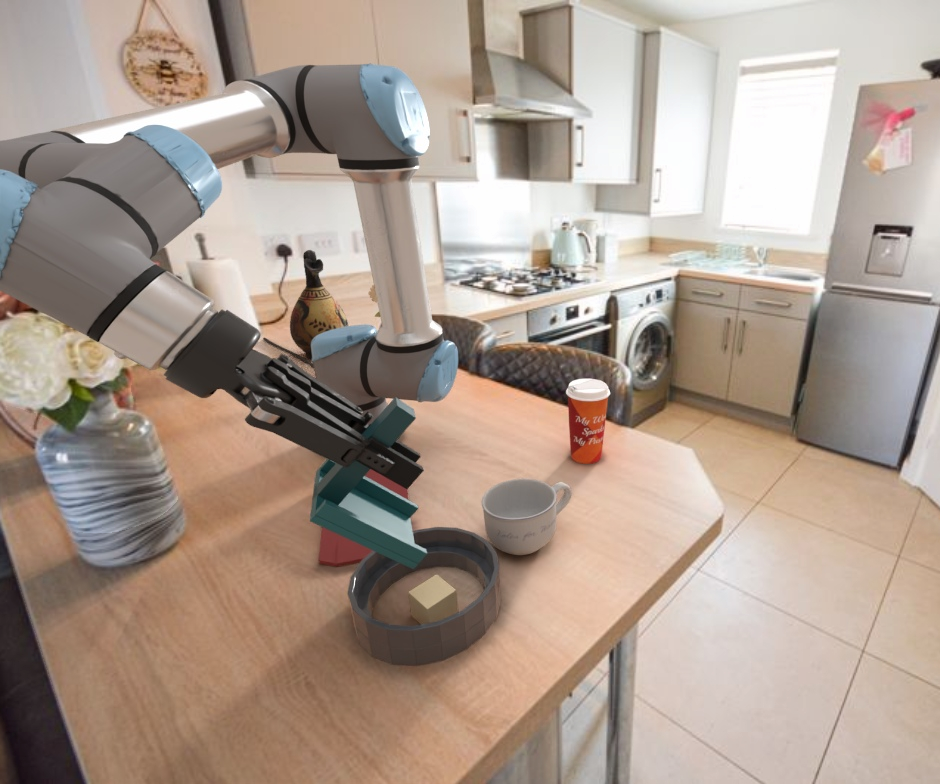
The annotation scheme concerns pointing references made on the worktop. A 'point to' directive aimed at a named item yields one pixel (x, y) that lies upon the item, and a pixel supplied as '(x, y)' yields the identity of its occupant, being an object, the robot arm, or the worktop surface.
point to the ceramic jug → (314, 308)
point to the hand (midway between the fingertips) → (413, 470)
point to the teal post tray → (369, 498)
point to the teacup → (522, 514)
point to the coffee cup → (587, 418)
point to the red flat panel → (342, 549)
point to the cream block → (433, 600)
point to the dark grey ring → (433, 637)
